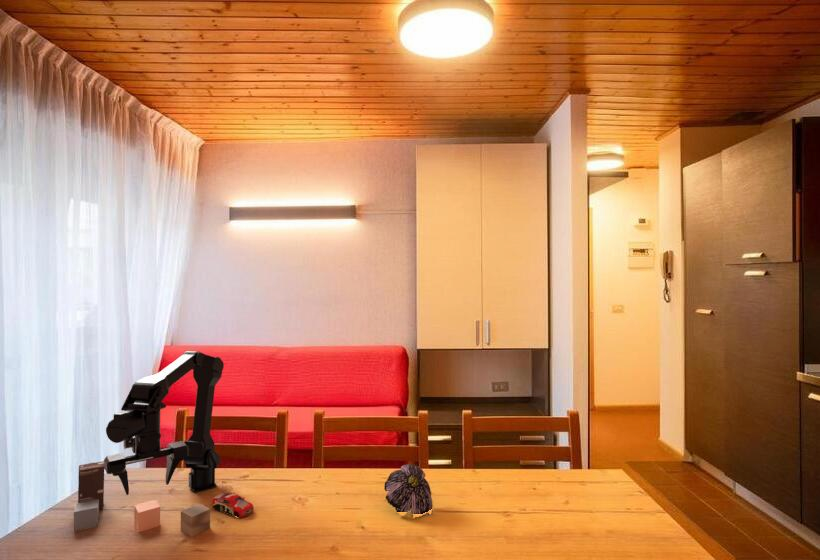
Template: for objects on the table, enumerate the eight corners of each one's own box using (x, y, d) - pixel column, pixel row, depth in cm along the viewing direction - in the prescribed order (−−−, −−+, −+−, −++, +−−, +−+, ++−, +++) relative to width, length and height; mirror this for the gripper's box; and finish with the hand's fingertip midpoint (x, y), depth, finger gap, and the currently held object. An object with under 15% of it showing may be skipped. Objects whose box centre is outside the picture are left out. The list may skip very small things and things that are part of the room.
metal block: (198, 522, 125) (199, 503, 125) (210, 528, 122) (210, 508, 122) (180, 530, 121) (180, 511, 120) (191, 537, 118) (191, 516, 118)
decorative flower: (386, 487, 125) (393, 450, 139) (375, 520, 128) (383, 481, 143) (439, 502, 125) (440, 464, 139) (427, 535, 128) (429, 495, 143)
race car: (257, 512, 130) (257, 498, 130) (241, 521, 126) (241, 506, 126) (225, 500, 137) (225, 487, 137) (208, 508, 132) (209, 494, 132)
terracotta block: (155, 518, 126) (155, 499, 126) (160, 525, 123) (160, 506, 123) (134, 524, 123) (134, 505, 123) (138, 532, 119) (138, 512, 119)
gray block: (98, 517, 126) (98, 499, 126) (97, 526, 122) (97, 507, 122) (75, 522, 124) (75, 503, 124) (73, 531, 119) (73, 512, 119)
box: (77, 514, 127) (77, 470, 127) (78, 507, 131) (78, 464, 131) (104, 509, 131) (104, 465, 131) (104, 502, 135) (104, 460, 134)
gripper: (178, 415, 135) (177, 469, 135) (100, 428, 123) (100, 488, 123) (189, 425, 126) (189, 483, 127) (107, 440, 114) (107, 504, 115)
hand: (147, 489), depth 123 cm, fingers open, 9 cm apart
